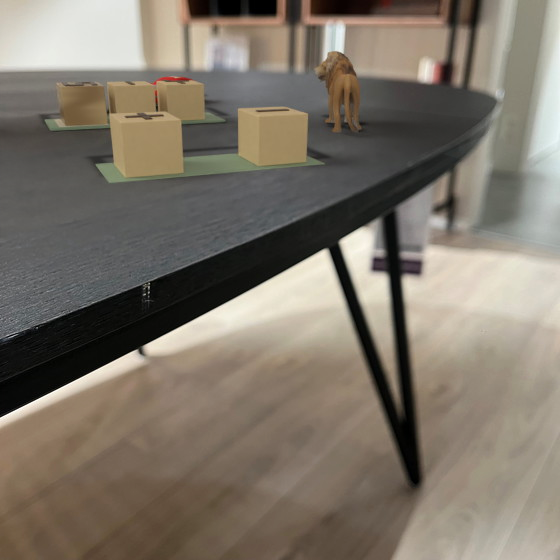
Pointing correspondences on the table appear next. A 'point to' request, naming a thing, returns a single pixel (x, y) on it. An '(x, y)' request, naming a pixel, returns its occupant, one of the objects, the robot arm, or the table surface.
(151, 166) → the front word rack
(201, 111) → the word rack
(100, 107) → the small cardboard box
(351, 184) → the table surface
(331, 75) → the lion figurine
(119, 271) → the table surface
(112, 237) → the table surface
